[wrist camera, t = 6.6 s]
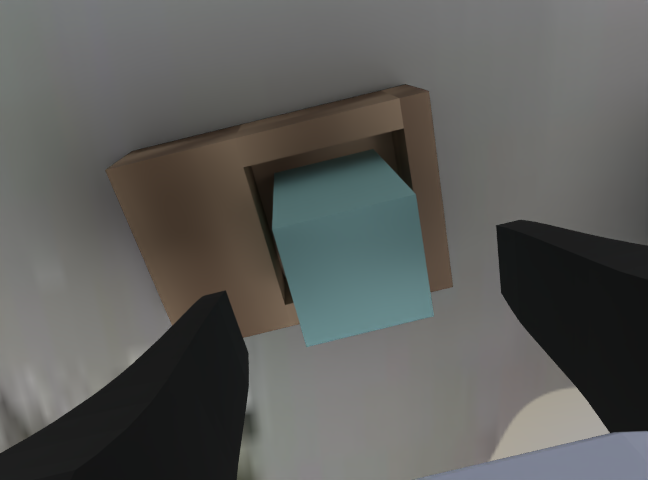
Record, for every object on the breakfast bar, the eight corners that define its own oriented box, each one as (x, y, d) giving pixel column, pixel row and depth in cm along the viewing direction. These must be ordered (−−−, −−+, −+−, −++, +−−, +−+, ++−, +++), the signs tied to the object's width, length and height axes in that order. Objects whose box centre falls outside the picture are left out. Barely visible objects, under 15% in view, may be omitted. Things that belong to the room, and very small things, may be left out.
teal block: (373, 148, 18) (415, 194, 12) (389, 239, 19) (433, 315, 14) (274, 172, 18) (271, 229, 12) (298, 261, 19) (306, 346, 14)
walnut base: (405, 84, 18) (428, 91, 15) (429, 255, 21) (453, 286, 18) (132, 151, 18) (105, 170, 15) (196, 311, 21) (183, 352, 18)
